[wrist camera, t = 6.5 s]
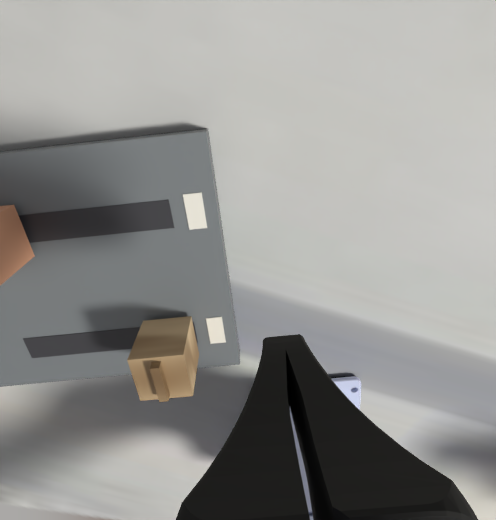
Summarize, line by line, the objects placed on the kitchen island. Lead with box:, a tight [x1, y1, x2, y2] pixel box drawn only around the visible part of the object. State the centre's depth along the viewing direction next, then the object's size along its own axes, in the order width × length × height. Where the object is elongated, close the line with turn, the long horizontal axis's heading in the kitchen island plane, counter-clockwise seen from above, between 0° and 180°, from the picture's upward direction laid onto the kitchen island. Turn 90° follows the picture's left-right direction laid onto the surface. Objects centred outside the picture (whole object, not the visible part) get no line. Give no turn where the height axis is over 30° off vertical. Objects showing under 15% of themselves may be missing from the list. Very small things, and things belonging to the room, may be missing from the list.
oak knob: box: [127, 316, 199, 402], centre depth 21 cm, size 3×3×4 cm
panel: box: [0, 129, 240, 387], centre depth 22 cm, size 15×19×2 cm
